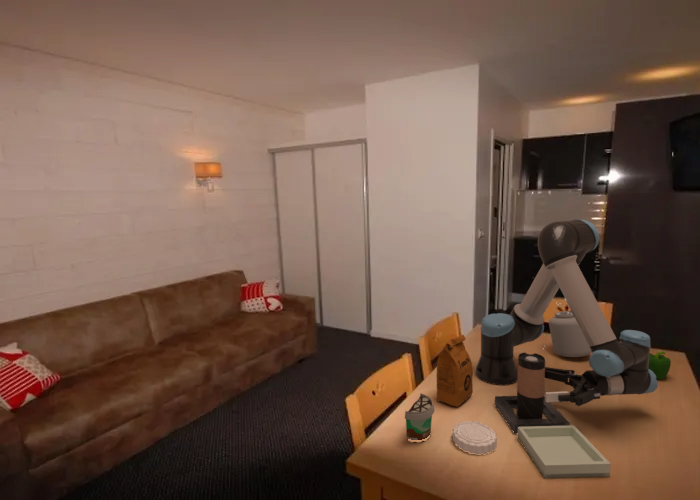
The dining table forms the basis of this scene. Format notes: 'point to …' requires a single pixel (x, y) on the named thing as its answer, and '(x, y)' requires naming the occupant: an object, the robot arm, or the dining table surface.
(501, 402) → the holder frame
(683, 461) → the dining table surface
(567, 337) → the jar
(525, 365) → the travel mug
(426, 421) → the food container
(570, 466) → the tray
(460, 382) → the coffee package
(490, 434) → the mooncake
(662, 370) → the bell pepper
